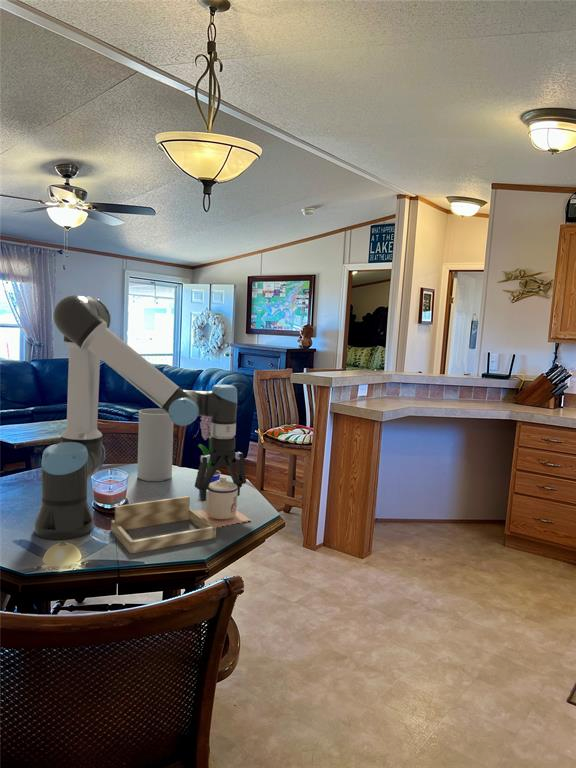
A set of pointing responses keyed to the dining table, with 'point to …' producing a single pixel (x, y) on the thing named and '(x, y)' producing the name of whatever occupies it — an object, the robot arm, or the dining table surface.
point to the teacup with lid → (222, 499)
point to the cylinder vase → (155, 445)
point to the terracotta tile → (223, 522)
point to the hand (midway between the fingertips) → (219, 508)
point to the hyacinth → (206, 428)
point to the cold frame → (155, 515)
